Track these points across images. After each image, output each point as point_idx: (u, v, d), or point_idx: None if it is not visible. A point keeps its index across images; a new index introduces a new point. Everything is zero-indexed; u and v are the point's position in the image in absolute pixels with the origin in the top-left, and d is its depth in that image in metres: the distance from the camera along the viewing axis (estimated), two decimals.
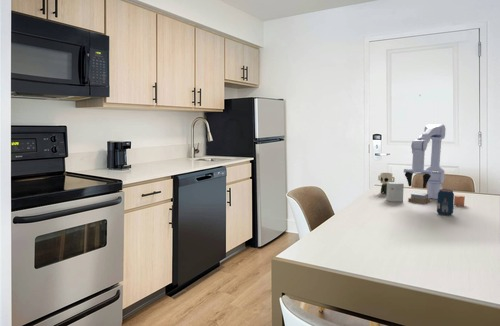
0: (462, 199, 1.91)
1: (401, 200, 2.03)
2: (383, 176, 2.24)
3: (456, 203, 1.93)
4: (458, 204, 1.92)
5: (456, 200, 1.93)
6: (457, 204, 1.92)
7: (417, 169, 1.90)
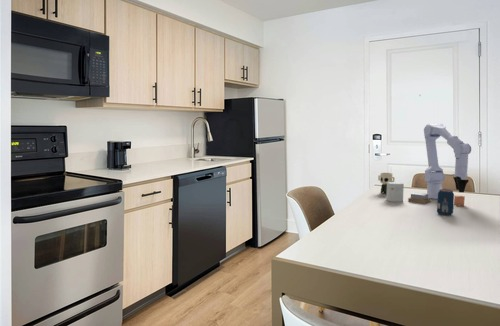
0: (462, 199, 1.91)
1: (401, 200, 2.03)
2: (383, 176, 2.24)
3: (456, 203, 1.93)
4: (458, 204, 1.92)
5: (456, 200, 1.93)
6: (457, 204, 1.92)
7: (455, 172, 1.92)
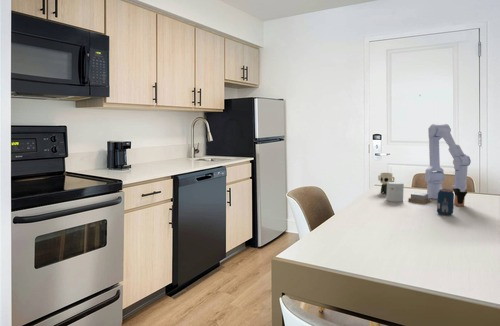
0: None
1: (401, 200, 2.03)
2: (383, 176, 2.24)
3: (456, 203, 1.93)
4: (458, 204, 1.92)
5: (456, 200, 1.93)
6: (457, 204, 1.92)
7: (454, 184, 1.93)
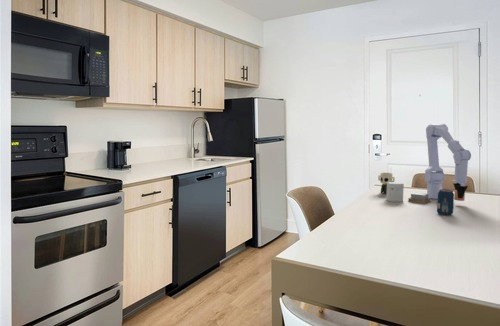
0: None
1: (401, 200, 2.03)
2: (383, 176, 2.24)
3: (456, 198, 1.93)
4: (458, 199, 1.92)
5: (456, 195, 1.92)
6: (457, 199, 1.92)
7: (455, 179, 1.93)
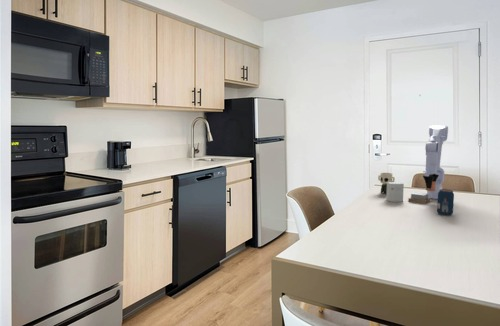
0: None
1: (401, 200, 2.03)
2: (383, 176, 2.24)
3: (426, 188, 2.00)
4: (428, 189, 1.99)
5: None
6: (427, 189, 2.00)
7: None
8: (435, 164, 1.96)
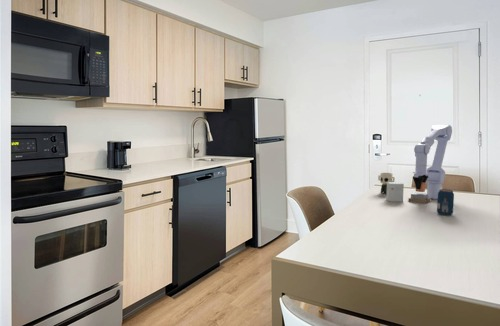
0: (421, 185, 2.01)
1: (401, 200, 2.03)
2: (383, 176, 2.24)
3: (416, 189, 2.03)
4: (417, 190, 2.02)
5: None
6: (417, 190, 2.02)
7: (415, 171, 2.03)
8: (424, 165, 1.99)
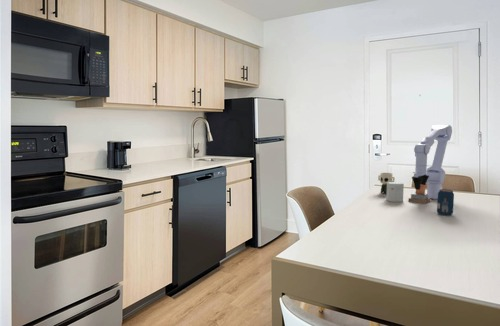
0: (421, 188, 2.01)
1: (401, 200, 2.03)
2: (383, 176, 2.24)
3: (416, 191, 2.03)
4: (417, 192, 2.02)
5: None
6: (416, 192, 2.03)
7: (415, 171, 2.03)
8: (424, 165, 1.99)
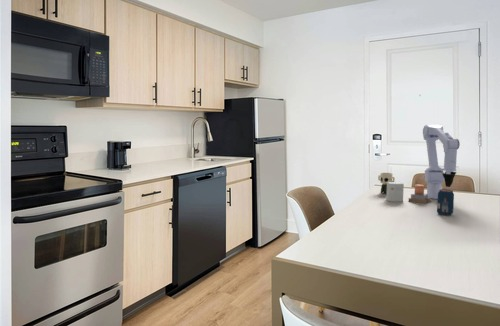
0: (421, 188, 2.00)
1: (401, 200, 2.03)
2: (383, 176, 2.24)
3: (415, 192, 2.03)
4: (417, 193, 2.02)
5: (415, 189, 2.02)
6: (416, 192, 2.02)
7: (444, 167, 1.95)
8: (455, 161, 1.91)
